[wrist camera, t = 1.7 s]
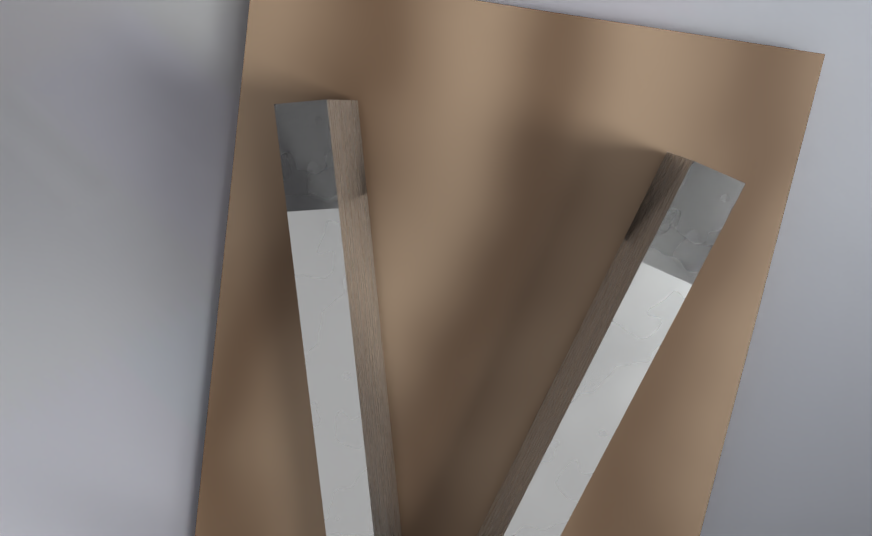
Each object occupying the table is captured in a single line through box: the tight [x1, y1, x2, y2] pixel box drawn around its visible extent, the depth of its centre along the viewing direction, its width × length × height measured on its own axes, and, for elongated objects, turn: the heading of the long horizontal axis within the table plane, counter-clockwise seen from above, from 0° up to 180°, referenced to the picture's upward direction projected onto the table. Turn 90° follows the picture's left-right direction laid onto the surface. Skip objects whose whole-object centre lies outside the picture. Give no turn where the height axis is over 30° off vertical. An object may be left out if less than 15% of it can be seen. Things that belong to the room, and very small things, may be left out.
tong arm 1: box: [477, 152, 745, 536], centre depth 25 cm, size 18×2×4 cm, turn 157°
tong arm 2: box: [274, 99, 402, 536], centre depth 25 cm, size 18×2×4 cm, turn 5°
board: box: [195, 0, 825, 536], centre depth 26 cm, size 18×26×4 cm
